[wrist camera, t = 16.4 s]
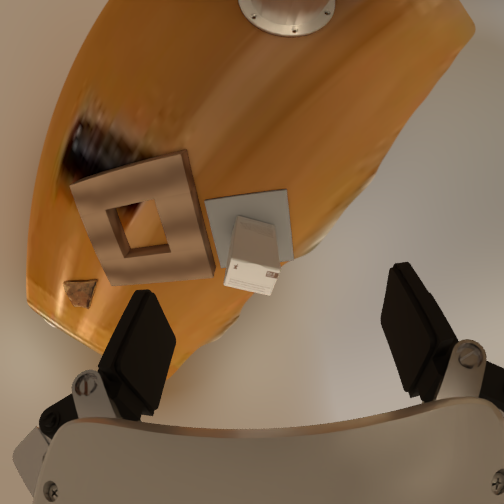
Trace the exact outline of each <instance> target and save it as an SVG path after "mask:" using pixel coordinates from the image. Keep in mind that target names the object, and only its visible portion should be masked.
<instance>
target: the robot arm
mask: <svg viewBox="0 0 504 504" xmlns="http://www.w3.org/2000/svg"><path fill="white" fill-rule="evenodd" d="M238 2H239V6H240V8H241V10H242V13H243V14H244V16H245V17H246V18H247V20H248V21H250V22H251V23H252V24H253V25H254V26H256V27H257V28H259V29H260V30H262V31H265V32H267V33H269V34H273V35H277V36H283V37H300V36H306V35H309V34H312V33H314V32H316V31H318V30H320V29H321V28H322V27H323V26H325V25H326V24H327V23H328V21H329V20H330V19H331V17H332V16H333V14H334V10H335V0H238ZM325 13H327V14H328V15H326V14H325ZM252 17H256V19H252ZM293 30H294V31H296V33H293V32H292V31H293ZM381 325H382V328H383V331H384V333H385V336H386V339H387V341H388V344H389V347H390V350H391V353H392V355H393V358H394V361H395V364H396V367H397V370H398V373H399V376H400V379H401V382H402V385H403V388H404V391H405V392H409V395H410V398H412V397H416V396H419V395H420V398H421V400H422V404H419V405H415V406H412V407H408V408H404V409H400V410H396V411H391V412H387V413H382V414H378V415H373V416H368V417H363V418H358V419H353V420H347V421H341V422H334V423H327V424H320V425H310V426H301V427H290V428H273V429H206V428H191V427H179V426H169V425H160V424H152V423H145V422H141V420H140V418H141V414H142V415H149V416H153V414H154V410H156V409H157V408H158V406H159V403H160V399H161V395H162V391H163V388H164V384H165V380H166V377H167V373H168V369H169V366H170V362H171V359H172V355H173V352H174V348H175V345H176V338H175V335H174V333H173V331H172V329H171V327H170V325H169V323H168V321H167V319H166V317H165V315H164V313H163V310H162V308H161V306H160V304H159V302H158V300H157V297H156V295H155V294H154V293H152V292H151V291H150V290H136V291H135V292H134V294H133V296H132V298H131V299H130V301H129V303H128V305H127V307H126V309H125V311H124V313H123V315H122V317H121V319H120V321H119V323H118V325H117V327H116V329H115V331H114V333H113V335H112V337H111V339H110V341H109V343H108V345H107V347H106V349H105V351H104V354H103V356H102V358H101V360H100V362H99V365H98V367H99V369H98V372H97V371H94V370H86V371H84V372H82V373H80V374H79V375H78V376H77V377H76V378H75V380H74V382H73V384H72V394H70V395H68V396H67V397H65V398H64V399H62V400H60V401H59V402H57V403H55V404H54V405H52V406H50V407H49V408H47V409H46V410H45V411H44V412H43V413H42V414H41V417H40V420H39V428H38V427H37V426H36V427H35V428H34V429H33V430H32V431H31V432H30V433H29V434H28V435H27V436H26V438H25V439H24V440H23V441H22V442H21V443H20V444H19V445H18V446H17V447H16V449H15V450H14V453H13V462H14V464H15V466H16V468H17V470H18V472H19V474H20V476H21V477H22V479H23V481H24V483H25V485H26V486H27V488H28V490H29V491H30V493H31V495H32V496H33V498H34V499H33V504H504V368H502V367H499V366H497V365H495V364H492V363H490V362H488V361H486V353H485V350H484V349H483V347H482V346H481V345H480V344H479V343H477V342H475V341H473V340H469V339H466V340H461V341H458V339H457V337H456V335H455V334H454V332H453V330H452V328H451V326H450V325H449V323H448V321H447V319H446V318H445V316H444V315H443V312H442V311H441V309H440V307H439V306H438V304H437V302H436V301H435V299H434V297H433V296H432V295H431V293H429V292H428V291H427V289H426V288H425V286H424V285H423V283H422V281H421V280H420V278H419V277H418V275H417V274H416V272H415V271H414V269H413V268H412V267H411V265H410V263H409V262H403V263H396V264H394V266H393V268H390V270H389V275H388V281H387V287H386V294H385V298H384V304H383V309H382V313H381Z"/></svg>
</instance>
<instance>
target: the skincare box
mask: <svg viewBox="0 0 504 504" xmlns="http://www.w3.org/2000/svg"><path fill="white" fill-rule="evenodd" d="M280 272H281V267H280V260H279V253H278V245H277V238H276V230H275V226H274V225H272V224H268V223H264V222H260V221H257V220H253V219H249V218H245V217H242V216H237V217H236V221H235V224H234V228H233V231H232V235H231V241H230V247H229V253H228V259H227V265H226V272H225V278H224V286H229V287H233V288H238V289H242V290H247V291H251V292H255V293H260V294H265V295H269V296H270V295H271V293H272V291H273V288H274V286H275V283H276V281H277V279H278V276H279V274H280Z"/></svg>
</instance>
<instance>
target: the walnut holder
mask: <svg viewBox="0 0 504 504" xmlns="http://www.w3.org/2000/svg"><path fill="white" fill-rule="evenodd" d="M70 188H71V191H72V194H73V197H74V200H75V203H76V205H77V208H78V211H79V213H80V216H81V219H82V221H83V224H84V226H85V229H86V231H87V234H88V236H89V238H90V241H91V243H92V245H93V248H94V250H95V252H96V254H97V257H98V259H99V261H100V263H101V265H102V267H103V270H104V272H105V274H106V276H107V278H108V280H109V282H110V284H111V286H121V285H134V284H147V283H159V282H171V281H183V280H194V279H205V278H213V276H214V272H215V268H216V266H215V262H214V258H213V255H212V251H211V247H210V243H209V240H208V236H207V232H206V228H205V224H204V220H203V216H202V212H201V208H200V204H199V200H198V196H197V192H196V188H195V184H194V180H193V175H192V171H191V167H190V162H189V158H188V154H187V150H183V151H178V152H174V153H170V154H165V155H161V156H157V157H153V158H149V159H145V160H142V161H138V162H134V163H131V164H127V165H124V166H120V167H117V168H114V169H110V170H107V171H104V172H101V173H98V174H95V175H92V176H89V177H86V178H83V179H80V180H78V181H76V182H75V183H73V184H72V185H70ZM152 199H154V200H155V203H156V207H157V210H158V213H159V216H160V219H161V223H162V226H163V229H164V232H165V235H166V238H167V241H168V244H164V245H156V246H149V247H142V248H135V249H130V246H129V243H128V241H127V238H126V236H125V233H124V230H123V228H122V225H121V222H120V220H119V217H118V214H117V211H116V208H115V207H120V206H124V205H129V204H133V203H138V202H142V201H147V200H152Z"/></svg>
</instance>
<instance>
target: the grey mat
mask: <svg viewBox="0 0 504 504" xmlns="http://www.w3.org/2000/svg"><path fill="white" fill-rule="evenodd" d="M205 206H206V210H207V214H208V218H209V222H210V226H211V230H212V234H213V238H214V242H215V246H216V250H217V254H218V258H219V262H220V265H221V268H226V265H227V259H228V253H229V247H230V241H231V235H232V231H233V228H234V224H235V221H236V217H237V216H242V217H245V218H249V219H253V220H257V221H260V222H264V223H268V224H272V225H274V226H275V230H276V238H277V245H278V253H279V260H280V262H283V261H292V260H294V257H293V246H292V236H291V226H290V216H289V207H288V198H287V190H286V189H281V190H272V191H264V192H256V193H249V194H242V195H234V196H227V197H221V198H214V199H208V200H205Z"/></svg>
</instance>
